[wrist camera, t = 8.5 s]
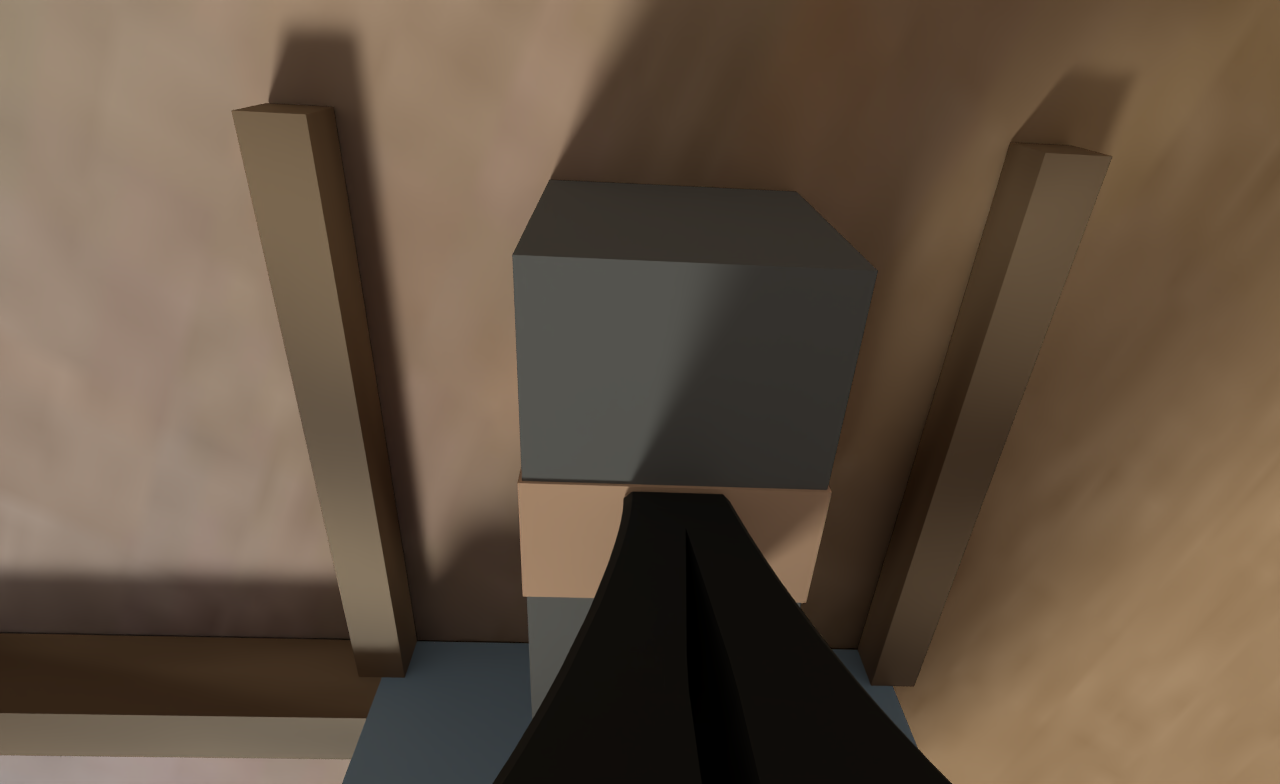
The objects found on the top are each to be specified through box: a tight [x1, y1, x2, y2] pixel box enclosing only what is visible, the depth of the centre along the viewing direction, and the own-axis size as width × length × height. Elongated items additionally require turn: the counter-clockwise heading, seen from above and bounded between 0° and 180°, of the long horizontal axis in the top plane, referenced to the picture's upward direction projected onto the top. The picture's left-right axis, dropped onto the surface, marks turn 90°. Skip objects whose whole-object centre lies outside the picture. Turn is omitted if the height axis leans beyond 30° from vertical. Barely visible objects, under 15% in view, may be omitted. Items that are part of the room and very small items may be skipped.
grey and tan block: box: [512, 180, 878, 719], centre depth 11 cm, size 8×4×4 cm, turn 177°
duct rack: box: [0, 103, 1112, 784], centre depth 11 cm, size 13×24×5 cm, turn 87°
